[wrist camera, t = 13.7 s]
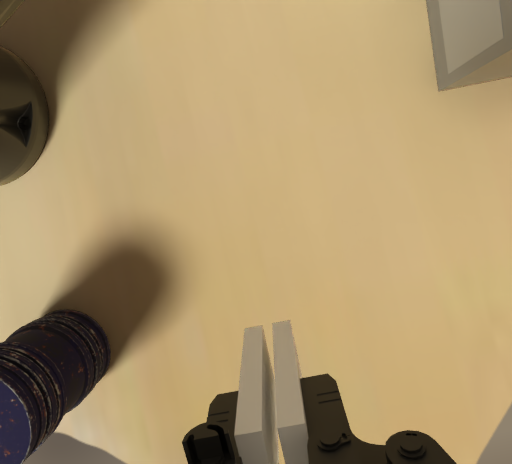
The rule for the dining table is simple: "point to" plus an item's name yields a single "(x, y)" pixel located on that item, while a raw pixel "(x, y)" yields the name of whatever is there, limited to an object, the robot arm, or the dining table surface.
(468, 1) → the grey inset panel box
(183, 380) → the dining table surface
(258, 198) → the dining table surface
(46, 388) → the storage jar
